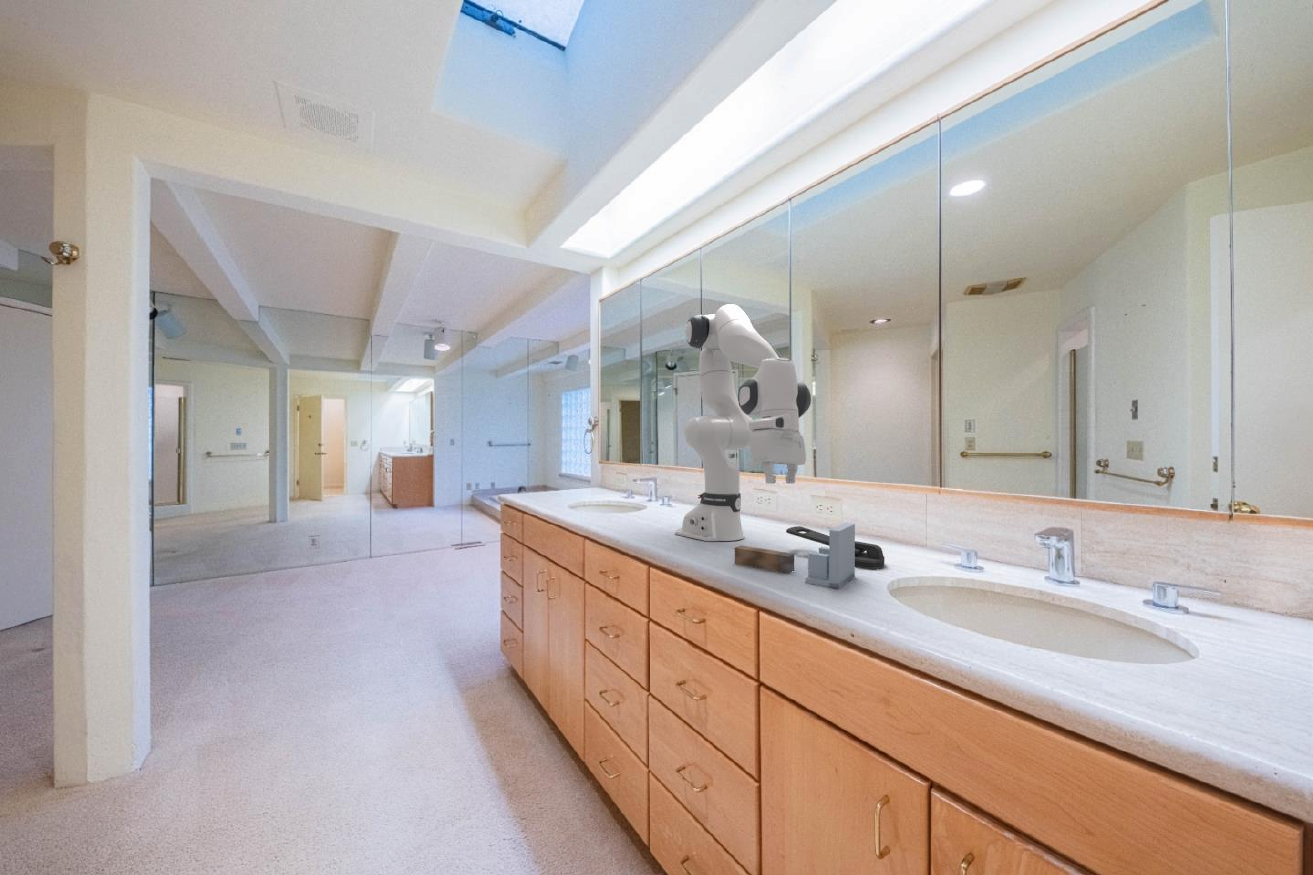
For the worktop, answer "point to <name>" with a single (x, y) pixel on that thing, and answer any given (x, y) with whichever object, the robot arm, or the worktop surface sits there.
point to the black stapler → (862, 559)
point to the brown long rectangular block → (764, 559)
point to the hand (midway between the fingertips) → (781, 483)
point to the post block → (834, 559)
